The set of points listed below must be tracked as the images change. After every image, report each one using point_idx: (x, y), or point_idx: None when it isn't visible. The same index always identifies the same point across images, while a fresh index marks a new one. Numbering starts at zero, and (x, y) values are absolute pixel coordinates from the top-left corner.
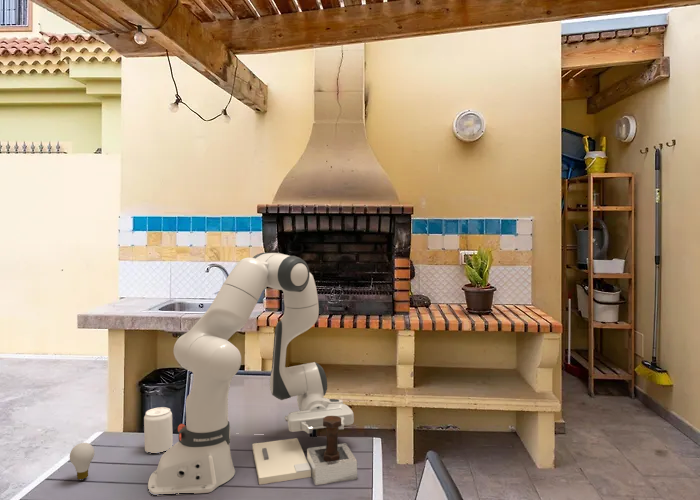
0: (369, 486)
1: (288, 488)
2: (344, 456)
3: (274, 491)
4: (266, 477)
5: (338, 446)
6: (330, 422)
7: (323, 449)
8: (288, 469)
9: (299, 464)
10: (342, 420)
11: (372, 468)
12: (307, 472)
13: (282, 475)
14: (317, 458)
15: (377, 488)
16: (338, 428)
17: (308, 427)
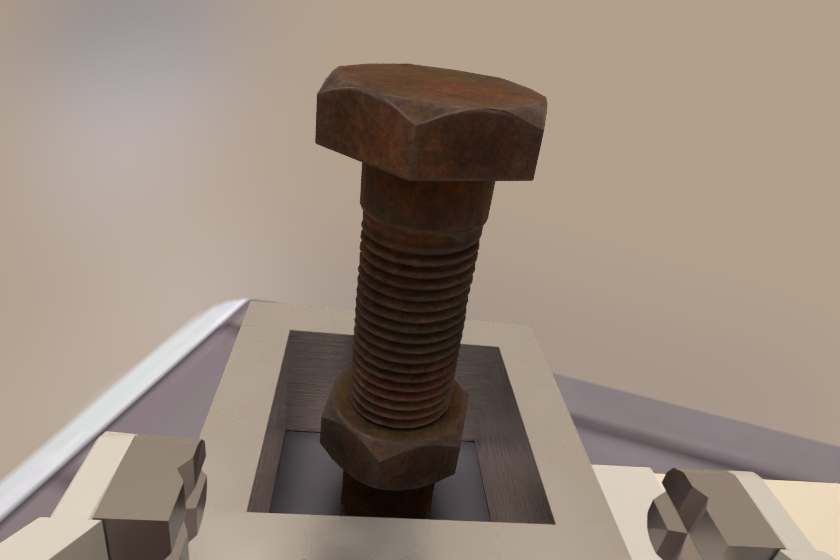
0: (228, 335)
1: (654, 435)
2: (267, 457)
3: (722, 434)
4: (834, 487)
5: (279, 520)
6: (470, 73)
7: (456, 526)
8: None
9: (656, 554)
10: (17, 542)
11: (58, 471)
12: None
13: None
14: (519, 393)
15: (202, 315)
16: (188, 553)
17: (741, 474)
